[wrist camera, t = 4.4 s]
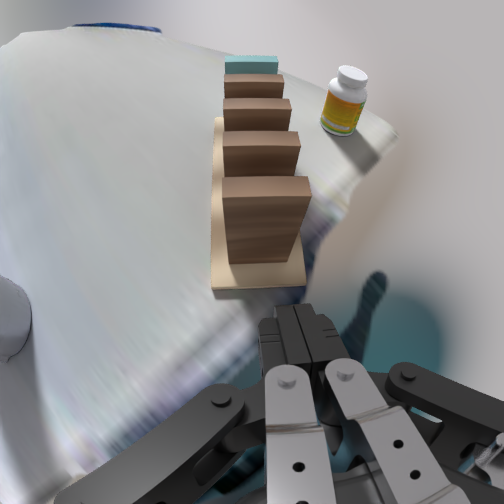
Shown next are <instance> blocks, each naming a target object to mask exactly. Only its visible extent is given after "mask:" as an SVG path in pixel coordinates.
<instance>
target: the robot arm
mask: <svg viewBox="0 0 504 504" xmlns="http://www.w3.org/2000/svg"><path fill="white" fill-rule="evenodd" d="M30 324H31V310H30V304H29V300H28V297H27V295H26V293H25V292H24V290H23V289H22V288H21V287H20V286H18V285H17V284H15V283H13V282H12V281H10V280H9V279H7V278H5V277H3V276H1V275H0V362H5V363H7V361H8V359H9V357H10V356H12V355H15V354H16V353H18V352H19V351H20V350H21V348H22V347H23V346H24V344H25V342H26V340H27V337H28V334H29V330H30ZM258 351H259V362H260V370H261V380H260V381H259V382H258V383H257V384H255V385H253V386H252V387H249V388H246V389H243V390H239V389H238V388H237V387H235V386H233V385H229V384H221V383H220V384H214V385H210V386H208V387H206V388H205V389H203V390H202V391H201V392H200V393H198V394H197V395H196V396H195V397H193V398H192V399H191V400H190V401H189V402H187V403H186V404H185V405H184V406H182V407H181V408H180V409H179V410H177V411H176V412H175V413H174V414H172V415H171V416H170V417H168V418H167V419H166V420H165V421H163V422H162V423H161V424H159V425H158V426H157V427H155V428H154V429H153V430H151V431H150V432H149V433H147V434H146V435H145V436H143V437H142V438H141V439H139V440H138V441H137V442H135V443H134V444H132V445H131V446H130V447H128V448H127V449H125V450H124V451H123V452H121V453H120V454H118V455H117V456H115V457H114V458H112V459H111V460H109V461H108V462H107V463H105V464H104V465H102V466H101V467H99V468H98V469H96V470H94V471H93V472H91V473H90V474H88V475H87V476H85V477H84V478H82V479H80V480H79V481H77V482H76V483H74V484H72V485H71V486H69V487H67V488H66V489H64V490H62V491H61V492H60V493H59V494H58V495H57V496H56V498H55V500H54V504H193V503H194V502H195V501H196V500H197V499H198V498H199V497H200V496H201V495H203V494H204V493H205V492H206V491H207V490H208V489H209V488H210V487H211V486H212V485H213V484H214V483H215V482H216V481H217V480H218V479H219V478H220V477H221V476H222V475H223V474H224V473H225V472H226V471H227V470H228V469H229V468H230V467H231V466H232V465H233V464H234V463H235V462H236V461H237V460H238V459H239V458H240V457H241V456H242V455H243V454H244V452H245V451H246V449H248V448H251V447H254V446H257V445H260V444H262V443H264V486H263V487H260V488H258V489H255V490H253V491H251V492H250V493H248V494H246V495H245V496H243V497H242V498H240V499H239V500H238V501H237V502H235V503H234V504H504V401H501V400H499V399H496V398H493V397H491V396H489V395H486V394H483V393H481V392H478V391H476V390H474V389H471V388H469V387H467V386H464V385H462V384H459V383H457V382H454V381H452V380H450V379H448V378H445V377H443V376H441V375H438V374H436V373H434V372H431V371H429V370H427V369H425V368H422V367H420V366H418V365H415V364H413V363H408V362H401V363H397V364H395V365H394V366H393V367H392V368H391V369H390V371H389V373H374V372H368V371H366V370H365V368H364V367H363V365H361V364H360V363H359V362H357V361H355V360H352V359H351V358H350V356H349V354H348V352H347V350H346V348H345V346H344V344H343V342H342V340H341V338H340V337H339V334H338V332H337V330H336V329H335V327H334V325H333V323H332V321H331V320H330V319H329V318H327V317H326V316H325V315H324V314H320V315H316V314H315V312H314V310H313V308H312V306H311V304H295V305H280V306H274V314H273V318H263V319H262V320H261V322H260V324H259V326H258ZM314 406H315V408H314ZM412 407H415V408H417V409H419V410H421V411H423V412H425V413H427V414H429V415H432V416H434V417H436V418H438V419H440V420H442V422H439V423H435V422H432V421H430V420H428V419H426V418H424V417H422V416H420V415H417V414H415V413H413V412H411V411H410V410H411V408H412ZM315 409H316V413H315Z"/></svg>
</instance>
